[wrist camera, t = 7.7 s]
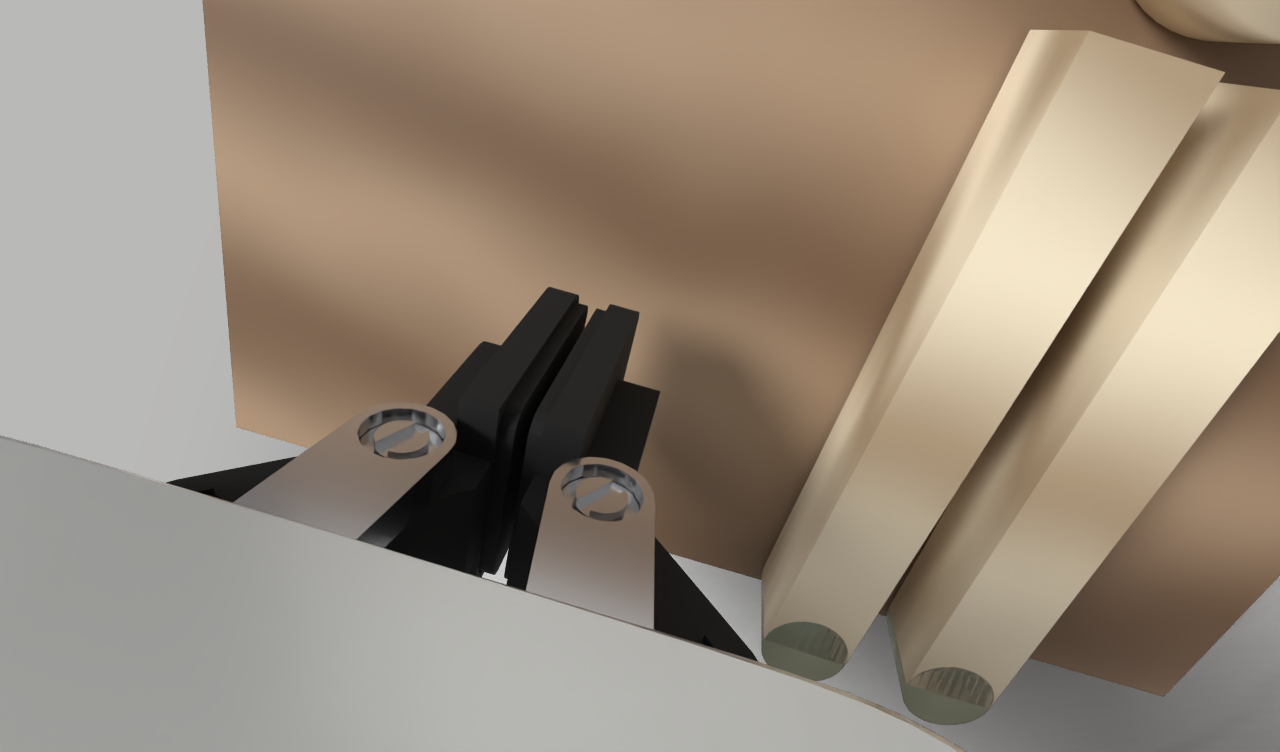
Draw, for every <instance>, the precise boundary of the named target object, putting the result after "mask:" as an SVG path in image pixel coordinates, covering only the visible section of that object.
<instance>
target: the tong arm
mask: <svg viewBox="0 0 1280 752" xmlns="http://www.w3.org/2000/svg"><path fill="white" fill-rule="evenodd" d="M1136 1H1137V3H1138V4H1139V5H1140V7H1141V8H1142V9H1143V10H1144V11H1145V12H1146V13H1147V14H1148V15H1149V16H1150V17H1151V18H1152V19H1154V20H1155V21H1156V22H1157V23H1159V24H1161V25H1162V26H1164V27H1165V28H1167V29H1169V30H1170V31H1173V32H1175V33H1178V34H1180V35H1183V36H1185V37H1189V38H1194V39H1198V40H1203V41H1214V42H1233V43H1261V44H1280V0H1136ZM1224 74H1225V72H1223V71H1219V70H1216V69H1213V68H1210V67H1206V66H1203V65H1200V64H1197V63H1193V62H1190V61H1187V60H1184V59H1180V58H1177V57H1174V56H1171V55H1167V54H1164V53H1161V52H1158V51H1154V50H1151V49H1148V48H1145V47H1141V46H1138V45H1135V44H1132V43H1128V42H1125V41H1122V40H1119V39H1115V38H1112V37H1109V36H1106V35H1102V34H1099V33H1096V32H1093V31H1083V30H1030V31H1029V33H1028V35H1027V37H1026V39H1025V41H1024V43H1023V45H1022V47H1021V49H1020V51H1019V53H1018V55H1017V57H1016V59H1015V61H1014V63H1013V65H1012V67H1011V69H1010V71H1009V73H1008V75H1007V77H1006V79H1005V81H1004V83H1003V85H1002V87H1001V89H1000V91H999V93H998V95H997V97H996V99H995V102H994V104H993V106H992V108H991V110H990V112H989V114H988V116H987V118H986V120H985V122H984V124H983V126H982V128H981V130H980V132H979V134H978V136H977V138H976V140H975V142H974V144H973V146H972V148H971V150H970V152H969V154H968V156H967V158H966V160H965V162H964V164H963V166H962V168H961V170H960V172H959V174H958V176H957V178H956V180H955V182H954V184H953V186H952V188H951V190H950V192H949V194H948V196H947V198H946V200H945V202H944V204H943V206H942V208H941V210H940V213H939V215H938V217H937V219H936V221H935V223H934V225H933V227H932V229H931V231H930V233H929V235H928V237H927V239H926V241H925V243H924V245H923V247H922V249H921V251H920V253H919V255H918V257H917V259H916V261H915V263H914V265H913V267H912V269H911V271H910V273H909V275H908V277H907V279H906V281H905V283H904V285H903V287H902V289H901V291H900V293H899V295H898V297H897V299H896V301H895V303H894V305H893V307H892V309H891V311H890V313H889V315H888V317H887V319H886V322H885V324H884V326H883V328H882V330H881V332H880V334H879V336H878V338H877V340H876V342H875V344H874V346H873V348H872V350H871V352H870V354H869V356H868V358H867V360H866V362H865V364H864V366H863V368H862V370H861V372H860V374H859V376H858V378H857V380H856V382H855V384H854V386H853V388H852V390H851V392H850V394H849V396H848V398H847V400H846V402H845V404H844V406H843V408H842V410H841V412H840V414H839V416H838V418H837V420H836V422H835V424H834V426H833V428H832V430H831V433H830V435H829V437H828V439H827V441H826V443H825V445H824V447H823V449H822V451H821V453H820V455H819V457H818V459H817V461H816V463H815V465H814V467H813V469H812V471H811V473H810V475H809V477H808V479H807V481H806V483H805V485H804V487H803V489H802V491H801V493H800V495H799V497H798V499H797V501H796V503H795V505H794V507H793V509H792V511H791V513H790V515H789V517H788V519H787V521H786V523H785V525H784V527H783V529H782V531H781V533H780V535H779V537H778V539H777V541H776V544H775V546H774V548H773V550H772V552H771V554H770V556H769V558H768V560H767V562H766V564H765V566H764V568H763V570H762V656H763V658H764V660H765V662H766V663H767V665H769V666H772V667H775V668H778V669H781V670H784V671H787V672H790V673H793V674H795V675H798V676H801V677H804V678H807V679H810V680H813V681H820V680H824V679H827V678H830V677H832V676H834V675H835V674H837V673H838V672H839V671H840V670H841V669H842V668H843V667H844V666H845V664H846V663H847V661H848V660H849V658H850V657H851V655H852V653H853V652H854V650H855V649H856V647H857V646H858V644H859V642H860V641H861V639H862V638H863V636H864V635H865V633H866V632H867V630H868V628H869V627H870V625H871V624H872V622H873V621H874V619H875V618H876V616H877V614H878V613H879V611H880V610H881V608H882V607H883V605H884V604H885V602H886V600H887V599H888V597H889V596H890V594H891V593H892V591H893V590H894V588H895V586H896V585H897V583H898V582H899V580H900V579H901V577H902V575H903V574H904V572H905V571H906V569H907V568H908V566H909V565H910V563H911V561H912V560H913V558H914V557H915V555H916V554H917V552H918V551H919V549H920V547H921V546H922V544H923V543H924V541H925V540H926V538H927V537H928V535H929V533H930V532H931V530H932V529H933V527H934V526H935V524H936V522H937V521H938V519H939V518H940V516H941V515H942V513H943V512H944V510H945V508H946V507H947V505H948V504H949V502H950V501H951V499H952V498H953V496H954V494H955V493H956V491H957V490H958V488H959V487H960V485H961V484H962V482H963V480H964V479H965V477H966V476H967V474H968V473H969V471H970V470H971V468H972V466H973V465H974V463H975V462H976V460H977V459H978V457H979V455H980V454H981V452H982V451H983V449H984V448H985V446H986V445H987V443H988V441H989V440H990V438H991V437H992V435H993V434H994V432H995V431H996V429H997V427H998V426H999V424H1000V423H1001V421H1002V420H1003V418H1004V417H1005V415H1006V413H1007V412H1008V410H1009V409H1010V407H1011V406H1012V404H1013V402H1014V401H1015V399H1016V398H1017V396H1018V395H1019V393H1020V392H1021V390H1022V388H1023V387H1024V385H1025V384H1026V382H1027V381H1028V379H1029V378H1030V376H1031V374H1032V373H1033V371H1034V370H1035V368H1036V367H1037V365H1038V364H1039V362H1040V360H1041V359H1042V357H1043V356H1044V354H1045V353H1046V351H1047V350H1048V348H1049V346H1050V345H1051V343H1052V342H1053V340H1054V339H1055V337H1056V335H1057V334H1058V332H1059V331H1060V329H1061V328H1062V326H1063V325H1064V323H1065V321H1066V320H1067V318H1068V317H1069V315H1070V314H1071V312H1072V311H1073V309H1074V307H1075V306H1076V304H1077V303H1078V301H1079V300H1080V298H1081V297H1082V295H1083V293H1084V292H1085V290H1086V289H1087V287H1088V286H1089V284H1090V282H1091V281H1092V279H1093V278H1094V276H1095V275H1096V273H1097V272H1098V270H1099V268H1100V267H1101V265H1102V264H1103V262H1104V261H1105V259H1106V258H1107V256H1108V254H1109V253H1110V251H1111V250H1112V248H1113V247H1114V245H1115V244H1116V242H1117V240H1118V239H1119V237H1120V236H1121V234H1122V233H1123V231H1124V230H1125V228H1126V226H1127V225H1128V223H1129V222H1130V220H1131V219H1132V217H1133V215H1134V214H1135V212H1136V211H1137V209H1138V208H1139V206H1140V205H1141V203H1142V201H1143V200H1144V198H1145V197H1146V195H1147V194H1148V192H1149V191H1150V189H1151V187H1152V186H1153V184H1154V183H1155V181H1156V180H1157V178H1158V177H1159V175H1160V173H1161V172H1162V170H1163V169H1164V167H1165V166H1166V164H1167V163H1168V161H1169V159H1170V158H1171V156H1172V155H1173V153H1174V152H1175V150H1176V148H1177V147H1178V145H1179V144H1180V142H1181V141H1182V139H1183V138H1184V136H1185V134H1186V133H1187V131H1188V130H1189V128H1190V127H1191V125H1192V124H1193V122H1194V120H1195V119H1196V117H1197V116H1198V114H1199V113H1200V111H1201V110H1202V108H1203V106H1204V105H1205V103H1206V102H1207V100H1208V99H1209V97H1210V95H1211V94H1212V92H1213V91H1214V89H1215V88H1216V86H1217V85H1218V83H1219V81H1220V80H1221V78H1222V77H1223V75H1224Z"/></svg>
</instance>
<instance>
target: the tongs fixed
mask: <svg viewBox="0 0 1280 752" xmlns="http://www.w3.org/2000/svg"><path fill="white" fill-rule="evenodd" d="M1279 332H1280V90H1276V89H1268V88H1260V87H1252V86H1244V85H1236V84H1228V83H1220V82H1219V83H1218V85H1217V86H1216V88H1215V89H1214V91H1213V92H1212V94H1211V95H1210V97H1209V99H1208V100H1207V102H1206V103H1205V105H1204V106H1203V108H1202V110H1201V111H1200V113H1199V114H1198V116H1197V117H1196V119H1195V120H1194V122H1193V124H1192V125H1191V127H1190V128H1189V130H1188V131H1187V133H1186V134H1185V136H1184V138H1183V139H1182V141H1181V142H1180V144H1179V145H1178V147H1177V148H1176V150H1175V152H1174V153H1173V155H1172V156H1171V158H1170V159H1169V161H1168V163H1167V164H1166V166H1165V167H1164V169H1163V170H1162V172H1161V173H1160V175H1159V177H1158V178H1157V180H1156V181H1155V183H1154V184H1153V186H1152V187H1151V189H1150V191H1149V192H1148V194H1147V195H1146V197H1145V198H1144V200H1143V201H1142V203H1141V205H1140V206H1139V208H1138V209H1137V211H1136V212H1135V214H1134V215H1133V217H1132V219H1131V220H1130V222H1129V223H1128V225H1127V226H1126V228H1125V230H1124V231H1123V233H1122V234H1121V236H1120V237H1119V239H1118V240H1117V242H1116V244H1115V245H1114V247H1113V248H1112V250H1111V251H1110V253H1109V254H1108V256H1107V258H1106V259H1105V261H1104V262H1103V264H1102V265H1101V267H1100V268H1099V270H1098V272H1097V273H1096V275H1095V276H1094V278H1093V279H1092V281H1091V282H1090V284H1089V286H1088V287H1087V289H1086V290H1085V292H1084V293H1083V295H1082V297H1081V298H1080V300H1079V301H1078V303H1077V304H1076V306H1075V307H1074V309H1073V311H1072V312H1071V314H1070V315H1069V317H1068V318H1067V320H1066V321H1065V323H1064V325H1063V326H1062V328H1061V329H1060V331H1059V332H1058V334H1057V335H1056V337H1055V339H1054V340H1053V342H1052V343H1051V345H1050V346H1049V348H1048V350H1047V351H1046V353H1045V354H1044V356H1043V357H1042V359H1041V360H1040V362H1039V364H1038V365H1037V367H1036V368H1035V370H1034V371H1033V373H1032V374H1031V376H1030V378H1029V379H1028V381H1027V382H1026V384H1025V385H1024V387H1023V388H1022V390H1021V392H1020V393H1019V395H1018V396H1017V398H1016V399H1015V401H1014V402H1013V404H1012V406H1011V407H1010V409H1009V410H1008V412H1007V413H1006V415H1005V417H1004V418H1003V420H1002V421H1001V423H1000V424H999V426H998V427H997V429H996V431H995V432H994V434H993V435H992V437H991V438H990V440H989V441H988V443H987V445H986V446H985V448H984V449H983V451H982V452H981V454H980V455H979V457H978V459H977V460H976V462H975V463H974V465H973V466H972V468H971V470H970V471H969V473H968V474H967V476H966V477H965V479H964V480H963V482H962V484H961V485H960V487H959V488H958V490H957V492H956V493H955V495H954V497H953V498H952V500H951V502H950V504H949V505H948V507H947V509H946V510H945V512H944V514H943V516H942V517H941V519H940V521H939V522H938V524H937V526H936V528H935V529H934V531H933V533H932V534H931V536H930V538H929V540H928V541H927V543H926V545H925V546H924V548H923V550H922V552H921V553H920V555H919V557H918V558H917V560H916V562H915V564H914V565H913V567H912V569H911V570H910V572H909V574H908V576H907V577H906V579H905V581H904V582H903V584H902V586H901V588H900V589H899V591H898V593H897V594H896V596H895V598H894V600H893V601H892V603H891V605H890V606H889V608H888V611H887V624H888V629H889V633H890V638H891V643H892V648H893V653H894V657H895V662H896V667H897V672H898V677H899V681H900V686H901V691H902V696H903V700H904V703H905V705H906V707H907V708H908V710H909V711H910V712H911V713H912V714H914V715H915V716H917V717H918V718H920V719H922V720H924V721H927V722H931V723H935V724H941V725H957V724H963V723H967V722H970V721H973V720H975V719H977V718H979V717H981V716H982V715H984V714H985V713H986V712H987V711H988V710H989V709H990V707H991V706H992V705H993V703H994V702H995V701H996V700H997V698H998V697H999V696H1000V694H1001V693H1002V692H1003V690H1004V689H1005V688H1006V687H1007V685H1008V684H1009V683H1010V681H1011V680H1012V679H1013V677H1014V676H1015V675H1016V674H1017V672H1018V671H1019V670H1020V668H1021V667H1022V666H1023V664H1024V663H1025V662H1026V661H1027V659H1028V658H1029V657H1030V655H1031V654H1032V653H1033V651H1034V650H1035V649H1036V648H1037V646H1038V645H1039V644H1040V642H1041V641H1042V640H1043V638H1044V637H1045V636H1046V635H1047V633H1048V632H1049V631H1050V629H1051V628H1052V627H1053V625H1054V624H1055V623H1056V622H1057V620H1058V619H1059V618H1060V616H1061V615H1062V614H1063V612H1064V611H1065V610H1066V609H1067V607H1068V606H1069V605H1070V603H1071V602H1072V601H1073V599H1074V598H1075V597H1076V596H1077V594H1078V593H1079V592H1080V590H1081V589H1082V588H1083V586H1084V585H1085V584H1086V583H1087V581H1088V580H1089V579H1090V577H1091V576H1092V575H1093V573H1094V572H1095V571H1096V570H1097V568H1098V567H1099V566H1100V564H1101V563H1102V562H1103V560H1104V559H1105V558H1106V557H1107V555H1108V554H1109V553H1110V551H1111V550H1112V549H1113V547H1114V546H1115V545H1116V544H1117V542H1118V541H1119V540H1120V538H1121V537H1122V536H1123V534H1124V533H1125V532H1126V531H1127V529H1128V528H1129V527H1130V525H1131V524H1132V523H1133V521H1134V520H1135V519H1136V518H1137V516H1138V515H1139V514H1140V512H1141V511H1142V510H1143V508H1144V507H1145V506H1146V505H1147V503H1148V502H1149V501H1150V499H1151V498H1152V497H1153V495H1154V494H1155V493H1156V491H1157V490H1158V489H1159V488H1160V486H1161V485H1162V484H1163V482H1164V481H1165V480H1166V478H1167V477H1168V476H1169V475H1170V473H1171V472H1172V471H1173V469H1174V468H1175V467H1176V465H1177V464H1178V463H1179V462H1180V460H1181V459H1182V458H1183V456H1184V455H1185V454H1186V452H1187V451H1188V450H1189V449H1190V447H1191V446H1192V445H1193V443H1194V442H1195V441H1196V439H1197V438H1198V437H1199V436H1200V434H1201V433H1202V432H1203V430H1204V429H1205V428H1206V426H1207V425H1208V424H1209V423H1210V421H1211V420H1212V419H1213V417H1214V416H1215V415H1216V413H1217V412H1218V411H1219V410H1220V408H1221V407H1222V406H1223V404H1224V403H1225V402H1226V400H1227V399H1228V398H1229V397H1230V395H1231V394H1232V393H1233V391H1234V390H1235V389H1236V387H1237V386H1238V385H1239V384H1240V382H1241V381H1242V380H1243V378H1244V377H1245V376H1246V374H1247V373H1248V372H1249V371H1250V369H1251V368H1252V367H1253V365H1254V364H1255V363H1256V361H1257V360H1258V359H1259V358H1260V356H1261V355H1262V354H1263V352H1264V351H1265V350H1266V348H1267V347H1268V346H1269V345H1270V343H1271V342H1272V341H1273V339H1274V338H1275V337H1276V335H1277V334H1278V333H1279Z"/></svg>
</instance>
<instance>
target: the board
mask: <svg viewBox="0 0 1280 752" xmlns="http://www.w3.org/2000/svg"><path fill="white" fill-rule="evenodd" d="M203 11H204V24H205V37H206V49H207V62H208V75H209V86H210V99H211V112H212V125H213V138H214V150H215V163H216V175H217V188H218V200H219V214H220V226H221V239H222V251H223V264H224V276H225V289H226V302H227V315H228V326H229V339H230V352H231V365H232V377H233V389H234V403H235V415H236V427H237V428H241V429H244V430H248V431H251V432H254V433H258V434H261V435H265V436H268V437H272V438H275V439H279V440H282V441H286V442H289V443H293V444H296V445H299V446H303V447H306V448H310V447H312V446H313V445H314V444H316V443H317V442H319V441H320V440H321V439H323V438H324V437H326V436H327V435H328V434H330V433H331V432H333V431H334V430H335V429H337V428H338V427H340V426H341V425H342V424H344V423H345V422H347V421H348V420H349V419H351V418H352V417H354V416H355V415H356V414H358V413H360V412H362V411H364V410H366V409H368V408H370V407H373V406H377V405H381V404H384V403H396V402H406V403H417V404H421V405H425V406H426V405H427V404H428V403H429V402H430V400H431V399H432V398H433V397H434V396H435V395H436V394H437V392H438V391H439V390H440V389H441V388H442V387H443V385H444V384H445V383H446V382H447V381H448V380H449V379H450V377H451V376H452V375H453V374H454V373H455V372H456V371H457V369H458V368H459V367H460V366H461V365H462V364H463V362H464V361H465V360H466V359H467V358H468V357H469V356H470V354H471V353H472V352H473V351H474V350H475V349H476V348H477V346H478V345H479V344H480V343H482V342H483V341H487V342H490V343H494V344H497V345H502V344H503V342H504V341H505V340H506V339H507V337H508V336H509V335H510V334H511V332H512V331H513V330H514V329H515V327H516V326H517V325H518V324H519V322H520V321H521V320H522V319H523V317H524V316H525V315H526V314H527V313H528V311H529V310H530V309H531V308H532V306H533V305H534V304H535V303H536V301H537V300H538V299H539V298H540V296H541V295H542V294H543V293H544V291H545V290H546V289H547V288H548V287H552V288H556V289H559V290H563V291H567V292H570V293H574V294H577V295H579V303H580V304H583V305H587V306H588V313H587V319H586V323H585V327H586V325H587V323H588V322H589V320H590V318H591V316H592V315H593V313H594V311H595V310H596V308H597V309H601V310H605V311H606V310H607V308H608V306H609V305H610V304H613V305H616V306H620V307H623V308H627V309H631V310H634V311H638V312H640V314H639V320H638V324H637V328H636V332H635V336H634V340H633V344H632V348H631V352H630V356H629V360H628V364H627V368H626V373H625V377H624V381H627V382H630V383H634V384H637V385H641V386H644V387H648V388H651V389H655V390H658V391H660V395H659V399H658V402H657V406H656V409H655V413H654V416H653V420H652V424H651V427H650V431H649V434H648V438H647V441H646V445H645V448H644V452H643V455H642V459H641V462H640V466H639V469H638V473H639V474H640V475H641V476H643V477H644V478H645V479H646V480H647V482H648V484H649V485H650V487H651V488H652V490H653V494H654V499H655V537H656V539H657V540H658V541H659V542H660V543H661V545H662V546H663V547H664V548H665V549H666V550H667V552H668V553H671V554H674V555H678V556H681V557H684V558H688V559H691V560H695V561H698V562H702V563H705V564H708V565H712V566H715V567H719V568H722V569H726V570H729V571H733V572H736V573H739V574H743V575H746V576H750V577H753V578H757V579H760V580H762V570H763V568H764V566H765V564H766V562H767V560H768V558H769V556H770V554H771V552H772V550H773V548H774V546H775V544H776V541H777V539H778V537H779V535H780V533H781V531H782V529H783V527H784V525H785V523H786V521H787V519H788V517H789V515H790V513H791V511H792V509H793V507H794V505H795V503H796V501H797V499H798V497H799V495H800V493H801V491H802V489H803V487H804V485H805V483H806V481H807V479H808V477H809V475H810V473H811V471H812V469H813V467H814V465H815V463H816V461H817V459H818V457H819V455H820V453H821V451H822V449H823V447H824V445H825V443H826V441H827V439H828V437H829V435H830V433H831V430H832V428H833V426H834V424H835V422H836V420H837V418H838V416H839V414H840V412H841V410H842V408H843V406H844V404H845V402H846V400H847V398H848V396H849V394H850V392H851V390H852V388H853V386H854V384H855V382H856V380H857V378H858V376H859V374H860V372H861V370H862V368H863V366H864V364H865V362H866V360H867V358H868V356H869V354H870V352H871V350H872V348H873V346H874V344H875V342H876V340H877V338H878V336H879V334H880V332H881V330H882V328H883V326H884V324H885V322H886V319H887V317H888V315H889V313H890V311H891V309H892V307H893V305H894V303H895V301H896V299H897V297H898V295H899V293H900V291H901V289H902V287H903V285H904V283H905V281H906V279H907V277H908V275H909V273H910V271H911V269H912V267H913V265H914V263H915V261H916V259H917V257H918V255H919V253H920V251H921V249H922V247H923V245H924V243H925V241H926V239H927V237H928V235H929V233H930V231H931V229H932V227H933V225H934V223H935V221H936V219H937V217H938V215H939V213H940V210H941V208H942V206H943V204H944V202H945V200H946V198H947V196H948V194H949V192H950V190H951V188H952V186H953V184H954V182H955V180H956V178H957V176H958V174H959V172H960V170H961V168H962V166H963V164H964V162H965V160H966V158H967V156H968V154H969V152H970V150H971V148H972V146H973V144H974V142H975V140H976V138H977V136H978V134H979V132H980V130H981V128H982V126H983V124H984V122H985V120H986V118H987V116H988V114H989V112H990V110H991V108H992V106H993V104H994V102H995V99H996V97H997V95H998V93H999V91H1000V89H1001V87H1002V85H1003V83H1004V81H1005V79H1006V77H1007V75H1008V73H1009V71H1010V69H1011V67H1012V65H1013V63H1014V61H1015V59H1016V57H1017V55H1018V53H1019V51H1020V49H1021V47H1022V45H1023V43H1024V41H1025V39H1026V37H1027V35H1028V33H1029V31H1030V30H1083V31H1093V32H1096V33H1099V34H1102V35H1106V36H1109V37H1112V38H1115V39H1119V40H1122V41H1125V42H1128V43H1132V44H1135V45H1138V46H1141V47H1145V48H1148V49H1151V50H1154V51H1158V52H1161V53H1164V54H1167V55H1171V56H1174V57H1177V58H1180V59H1184V60H1187V61H1190V62H1193V63H1197V64H1200V65H1203V66H1206V67H1210V68H1213V69H1216V70H1219V71H1223V72H1225V74H1224V75H1223V77H1222V78H1221V80H1220V81H1219V82H1220V83H1228V84H1236V85H1244V86H1252V87H1260V88H1268V89H1276V90H1280V44H1261V43H1233V42H1214V41H1203V40H1198V39H1194V38H1189V37H1185V36H1183V35H1180V34H1178V33H1175V32H1173V31H1170V30H1169V29H1167V28H1165V27H1164V26H1162V25H1161V24H1159V23H1157V22H1156V21H1155V20H1154V19H1152V18H1151V17H1150V16H1149V15H1148V14H1147V13H1146V12H1145V11H1144V10H1143V9H1142V8H1141V7H1140V5H1139V4H1138V3H1137V1H1136V0H203ZM956 492H957V491H956ZM954 495H955V494H954ZM953 497H954V496H953ZM951 500H952V499H951ZM950 502H951V501H950ZM950 502H949V504H950ZM949 504H948V505H949ZM948 505H947V507H948ZM947 507H946V508H945V510H946V509H947ZM945 510H944V512H945ZM944 512H943V513H942V515H941V516H940V518H939V519H938V521H937V522H936V524H935V526H934V527H933V529H932V530H931V532H930V533H929V535H928V537H927V538H926V540H925V541H924V543H923V544H922V546H921V547H920V549H919V551H918V552H917V554H916V555H915V557H914V558H913V560H912V561H911V563H910V565H909V566H908V568H907V569H906V571H905V572H904V574H903V575H902V577H901V579H900V580H899V582H898V583H897V585H896V586H895V588H894V590H893V591H892V593H891V594H890V596H889V597H888V599H887V600H886V602H885V604H884V605H883V607H882V608H881V610H880V611H879V613H878V614H880V615H884V616H887V611H888V608H889V606H890V605H891V603H892V601H893V600H894V598H895V596H896V594H897V593H898V591H899V589H900V588H901V586H902V584H903V582H904V581H905V579H906V577H907V576H908V574H909V572H910V570H911V569H912V567H913V565H914V564H915V562H916V560H917V558H918V557H919V555H920V553H921V552H922V550H923V548H924V546H925V545H926V543H927V541H928V540H929V538H930V536H931V534H932V533H933V531H934V529H935V528H936V526H937V524H938V522H939V521H940V519H941V517H942V516H943V514H944ZM1279 576H1280V332H1279V333H1278V334H1277V335H1276V337H1275V338H1274V339H1273V341H1272V342H1271V343H1270V345H1269V346H1268V347H1267V348H1266V350H1265V351H1264V352H1263V354H1262V355H1261V356H1260V358H1259V359H1258V360H1257V361H1256V363H1255V364H1254V365H1253V367H1252V368H1251V369H1250V371H1249V372H1248V373H1247V374H1246V376H1245V377H1244V378H1243V380H1242V381H1241V382H1240V384H1239V385H1238V386H1237V387H1236V389H1235V390H1234V391H1233V393H1232V394H1231V395H1230V397H1229V398H1228V399H1227V400H1226V402H1225V403H1224V404H1223V406H1222V407H1221V408H1220V410H1219V411H1218V412H1217V413H1216V415H1215V416H1214V417H1213V419H1212V420H1211V421H1210V423H1209V424H1208V425H1207V426H1206V428H1205V429H1204V430H1203V432H1202V433H1201V434H1200V436H1199V437H1198V438H1197V439H1196V441H1195V442H1194V443H1193V445H1192V446H1191V447H1190V449H1189V450H1188V451H1187V452H1186V454H1185V455H1184V456H1183V458H1182V459H1181V460H1180V462H1179V463H1178V464H1177V465H1176V467H1175V468H1174V469H1173V471H1172V472H1171V473H1170V475H1169V476H1168V477H1167V478H1166V480H1165V481H1164V482H1163V484H1162V485H1161V486H1160V488H1159V489H1158V490H1157V491H1156V493H1155V494H1154V495H1153V497H1152V498H1151V499H1150V501H1149V502H1148V503H1147V505H1146V506H1145V507H1144V508H1143V510H1142V511H1141V512H1140V514H1139V515H1138V516H1137V518H1136V519H1135V520H1134V521H1133V523H1132V524H1131V525H1130V527H1129V528H1128V529H1127V531H1126V532H1125V533H1124V534H1123V536H1122V537H1121V538H1120V540H1119V541H1118V542H1117V544H1116V545H1115V546H1114V547H1113V549H1112V550H1111V551H1110V553H1109V554H1108V555H1107V557H1106V558H1105V559H1104V560H1103V562H1102V563H1101V564H1100V566H1099V567H1098V568H1097V570H1096V571H1095V572H1094V573H1093V575H1092V576H1091V577H1090V579H1089V580H1088V581H1087V583H1086V584H1085V585H1084V586H1083V588H1082V589H1081V590H1080V592H1079V593H1078V594H1077V596H1076V597H1075V598H1074V599H1073V601H1072V602H1071V603H1070V605H1069V606H1068V607H1067V609H1066V610H1065V611H1064V612H1063V614H1062V615H1061V616H1060V618H1059V619H1058V620H1057V622H1056V623H1055V624H1054V625H1053V627H1052V628H1051V629H1050V631H1049V632H1048V633H1047V635H1046V636H1045V637H1044V638H1043V640H1042V641H1041V642H1040V644H1039V645H1038V646H1037V648H1036V649H1035V650H1034V651H1033V653H1032V654H1031V655H1030V657H1029V658H1032V659H1035V660H1039V661H1042V662H1046V663H1049V664H1052V665H1056V666H1059V667H1063V668H1066V669H1070V670H1073V671H1077V672H1080V673H1083V674H1087V675H1090V676H1094V677H1097V678H1101V679H1104V680H1107V681H1111V682H1114V683H1118V684H1121V685H1125V686H1128V687H1132V688H1135V689H1138V690H1142V691H1145V692H1149V693H1152V694H1156V695H1159V696H1163V697H1164V696H1165V695H1166V694H1167V693H1168V692H1169V691H1170V690H1171V689H1172V688H1173V686H1174V685H1175V684H1176V683H1177V682H1178V681H1179V680H1180V679H1181V678H1182V677H1183V676H1184V675H1185V674H1186V673H1187V672H1188V671H1189V670H1190V669H1191V668H1192V667H1193V666H1194V665H1195V664H1196V662H1197V661H1198V660H1199V659H1200V658H1201V657H1202V656H1203V655H1204V654H1205V653H1206V652H1207V651H1208V650H1209V649H1210V648H1211V647H1212V646H1213V645H1214V644H1215V643H1216V642H1217V641H1218V640H1219V638H1220V637H1221V636H1222V635H1223V634H1224V633H1225V632H1226V631H1227V630H1228V629H1229V628H1230V627H1231V626H1232V625H1233V624H1234V623H1235V622H1236V621H1237V620H1238V619H1239V618H1240V617H1241V615H1242V614H1243V613H1244V612H1245V611H1246V610H1247V609H1248V608H1249V607H1250V606H1251V605H1252V604H1253V603H1254V602H1255V601H1256V600H1257V599H1258V598H1259V597H1260V596H1261V595H1262V594H1263V593H1264V591H1265V590H1266V589H1267V588H1268V587H1269V586H1270V585H1271V584H1272V583H1273V582H1274V581H1275V580H1276V579H1277V578H1278V577H1279Z"/></svg>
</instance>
